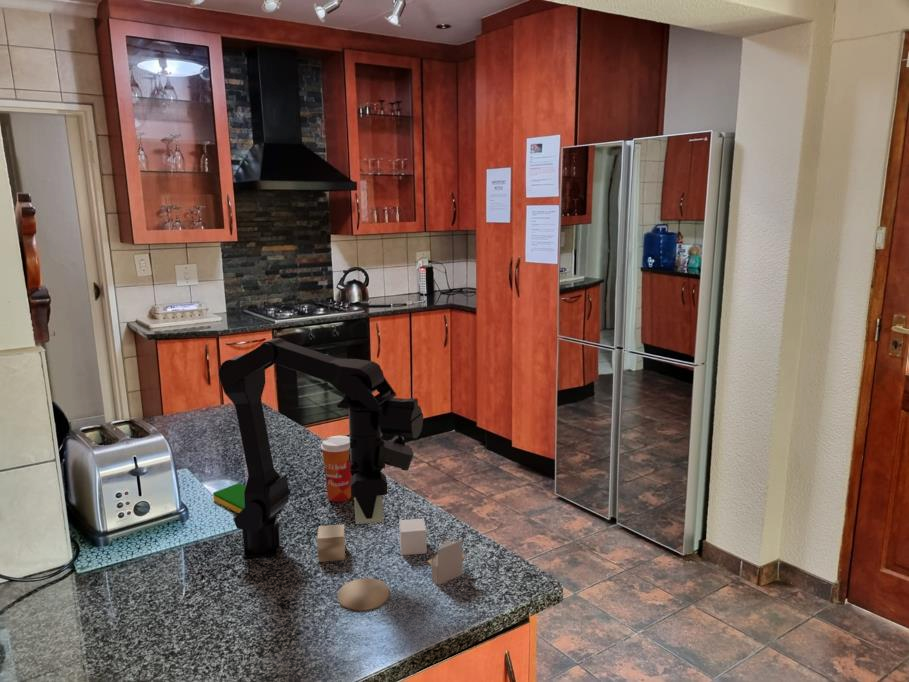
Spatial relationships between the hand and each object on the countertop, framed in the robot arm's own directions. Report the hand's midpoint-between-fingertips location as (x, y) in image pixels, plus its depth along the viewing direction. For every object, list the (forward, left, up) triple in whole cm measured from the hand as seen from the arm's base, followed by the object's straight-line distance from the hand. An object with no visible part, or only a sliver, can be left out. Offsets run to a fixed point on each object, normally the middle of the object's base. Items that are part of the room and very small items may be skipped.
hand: (368, 511), depth 121 cm
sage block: (0, 0, -1) cm, 1 cm away
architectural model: (+14, -5, -12) cm, 19 cm away
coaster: (-1, -8, -12) cm, 14 cm away
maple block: (-7, +7, -12) cm, 15 cm away
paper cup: (-6, +33, -12) cm, 35 cm away
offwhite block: (+9, +7, -12) cm, 16 cm away
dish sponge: (-28, +33, -12) cm, 45 cm away
